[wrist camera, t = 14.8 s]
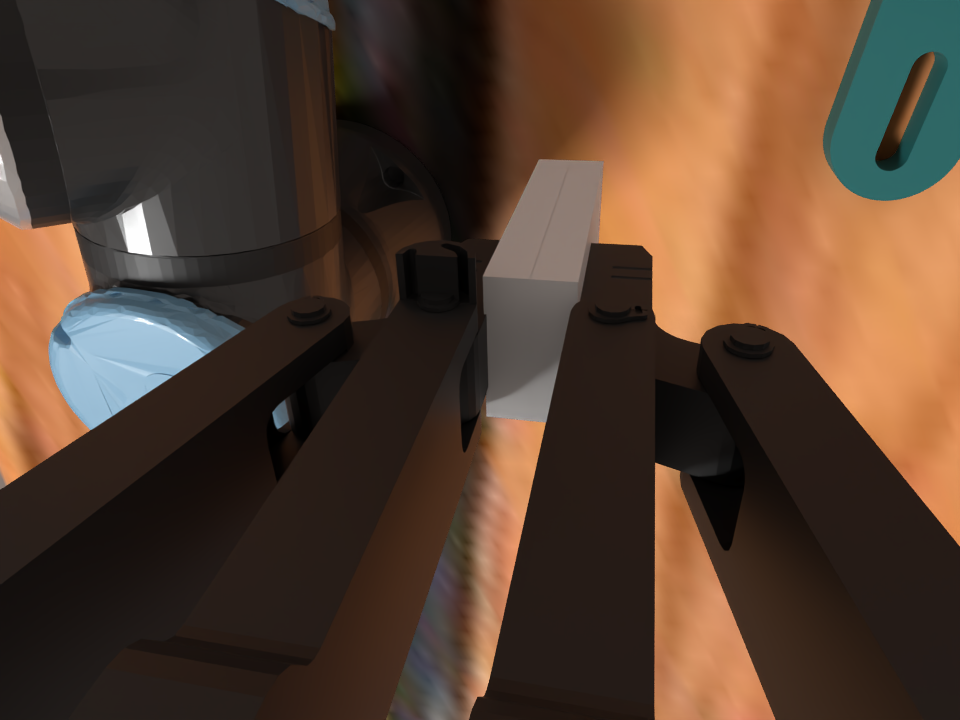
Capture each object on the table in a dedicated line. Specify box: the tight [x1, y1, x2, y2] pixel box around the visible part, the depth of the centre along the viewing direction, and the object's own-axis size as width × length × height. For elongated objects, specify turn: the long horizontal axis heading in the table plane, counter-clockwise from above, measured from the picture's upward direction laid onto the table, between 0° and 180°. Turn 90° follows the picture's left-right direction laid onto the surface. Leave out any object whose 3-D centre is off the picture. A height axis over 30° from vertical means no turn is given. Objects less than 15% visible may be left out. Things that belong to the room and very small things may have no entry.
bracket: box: [823, 0, 960, 201], centre depth 34 cm, size 18×7×8 cm, turn 173°
